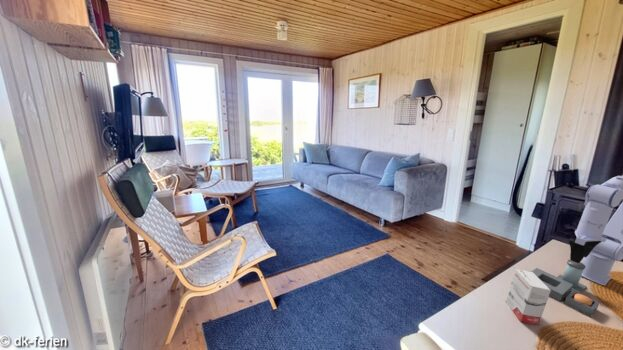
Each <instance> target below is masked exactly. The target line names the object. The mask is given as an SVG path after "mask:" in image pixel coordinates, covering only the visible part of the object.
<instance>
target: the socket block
mask: <svg viewBox="0 0 623 350" xmlns="http://www.w3.org/2000/svg"><path fill="white" fill-rule="evenodd" d="M530 272H533V273H534V274H535V275H536V276H537V277H538V278H539V279H540V280H541V281H542V282H543V283H544V284H545V285H546V286H547V287H548V288H549V289H550V290H551V291H550V294H549V297H551V298H553V299H555V300H557V301H559V302H561V301H562V300H563V299H564V298H565V297H567V296H568V295H569V294H570V293H571V292H572V290H571V289H572V287H573V284H571V283H569V282H567V281H565V280H562V279H560V278H558V276H555V275H554V274H551V273H549V272H547V271H544V270H542V269H540V268H538V267H536V268H534V269H533V270H531V271H530Z"/></svg>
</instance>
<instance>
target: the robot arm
mask: <svg viewBox="0 0 623 350" xmlns="http://www.w3.org/2000/svg"><path fill="white" fill-rule="evenodd" d="M584 197H585V198H584V199H585V201H584V204H583V205H584V206H585V207H584V209H583V212H582V215H581V218H580V220H579V222H578V225H577V227H576V229H575V231H574V234H575V236H576V238H575V239H574V238H572V237H571V238H569V239H568V244H569V249H570V256H569V258H570V259H569V260H571V261H574V262H576V263H580V262H581V263H583V264H584V265H585V266H586V267H585V269H584V270H583V272H582V275H581V278H585V279H587V280H589V281H592V282H594V283H596V284H599V285H601V286H603V285H604V286H606V285H607V283H608V282H609V281H610V280H611V279H612V276H610V273H611V271H612V269H613V266H614V264H615V262H621V261H622V260H623V174H622V175H617V176H614V177H611V178H610V179H608V180H607V181H605V182H603V183H601V184H595V185H593V184H592V185H590V187H589V188H588V189H587V191H586V193H585V196H584ZM621 201H622V202H621ZM620 203H621V204H620ZM618 205H619V207H618V208H617V209H616V211H615V212H614V214H613V215H612V216H611V214H612V212H613V209H614V208H616V207H617V206H618ZM610 217H611V218H610ZM604 286H603V287H604Z"/></svg>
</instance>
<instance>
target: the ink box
mask: <svg viewBox="0 0 623 350" xmlns="http://www.w3.org/2000/svg"><path fill="white" fill-rule="evenodd" d="M543 282H544V281H543ZM543 282H542V280H540V279H539V278H538V277H537V276H536V275H535V274H534V273H533V272H531V271H529V270H522V269H519V268H518V269H517V268H516V269H514V273H513V276H512V280H511V283H510V286H509V289H508V291H507V295H506V299H505V302H506V304H507V305H508V306H509V308H510V309H511V310H512V312H513V313H514V315H515V316H516V317H517V319H518V321H519V322H521V323H525V324H530V325H538V326H539V324H540V322H541V320H542V317H543V314H544V313H543V312H544V311H545V307H546V306H547V303H548V299H549V297H550V296H549V294H550V291H551V290H550V289H549V288H548V287H547V286H546V285H545V284H544V283H543Z"/></svg>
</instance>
